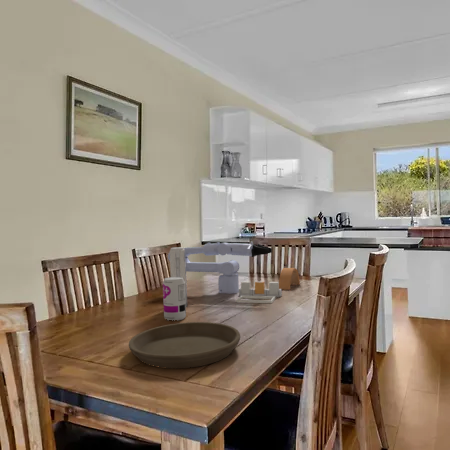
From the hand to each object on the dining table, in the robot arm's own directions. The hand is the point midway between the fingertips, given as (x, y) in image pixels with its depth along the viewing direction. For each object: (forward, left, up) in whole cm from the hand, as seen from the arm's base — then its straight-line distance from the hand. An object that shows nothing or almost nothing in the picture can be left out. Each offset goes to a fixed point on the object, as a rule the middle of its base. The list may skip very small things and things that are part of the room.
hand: (270, 250), depth 187 cm
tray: (-4, -17, -20) cm, 27 cm away
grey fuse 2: (+2, -6, -20) cm, 21 cm away
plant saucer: (-10, -80, -21) cm, 84 cm away
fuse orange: (-4, -6, -20) cm, 21 cm away
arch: (+6, +19, -21) cm, 29 cm away
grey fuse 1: (-11, -6, -20) cm, 23 cm away
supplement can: (-28, -47, -21) cm, 59 cm away
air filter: (-34, -29, -21) cm, 49 cm away
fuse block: (-4, -6, -20) cm, 22 cm away
